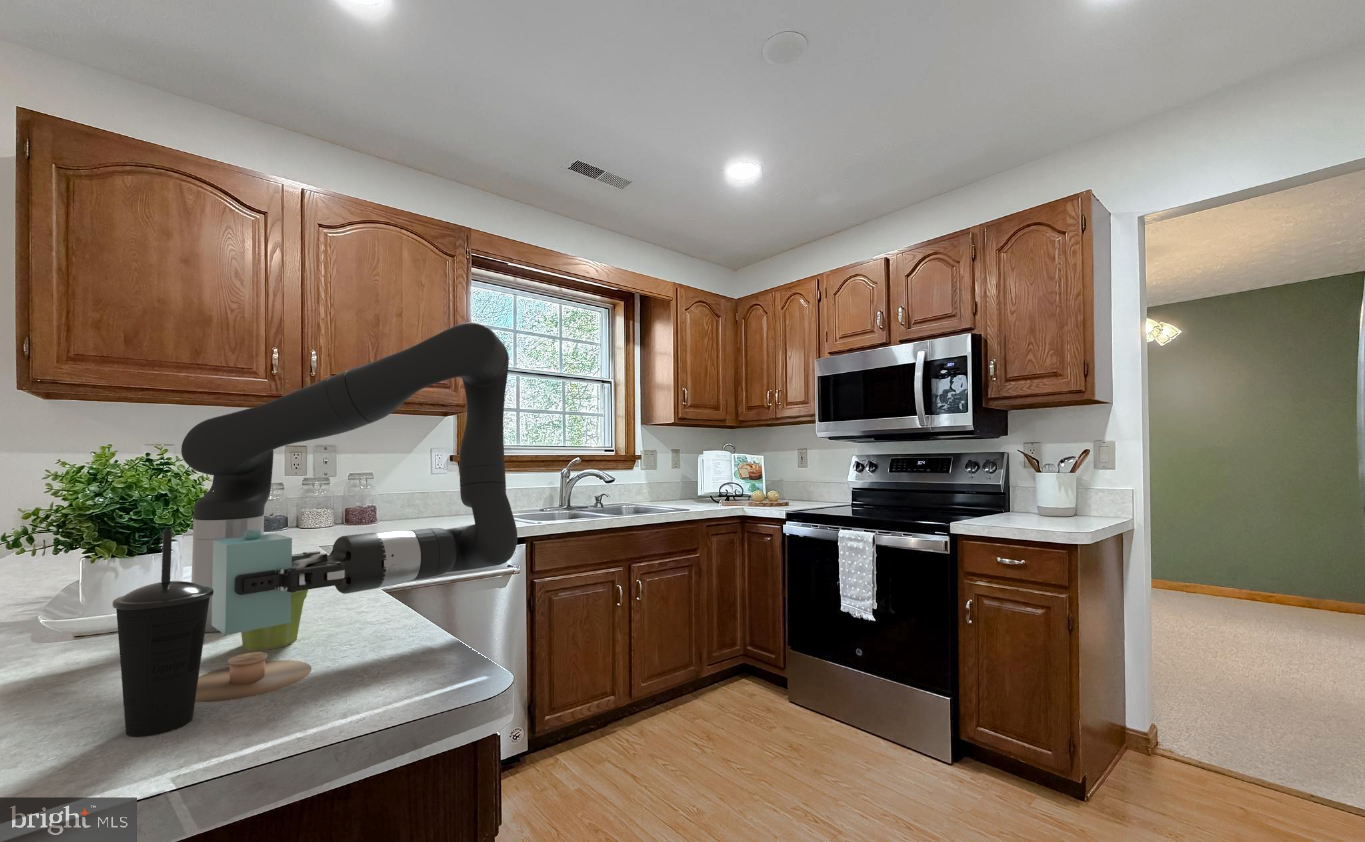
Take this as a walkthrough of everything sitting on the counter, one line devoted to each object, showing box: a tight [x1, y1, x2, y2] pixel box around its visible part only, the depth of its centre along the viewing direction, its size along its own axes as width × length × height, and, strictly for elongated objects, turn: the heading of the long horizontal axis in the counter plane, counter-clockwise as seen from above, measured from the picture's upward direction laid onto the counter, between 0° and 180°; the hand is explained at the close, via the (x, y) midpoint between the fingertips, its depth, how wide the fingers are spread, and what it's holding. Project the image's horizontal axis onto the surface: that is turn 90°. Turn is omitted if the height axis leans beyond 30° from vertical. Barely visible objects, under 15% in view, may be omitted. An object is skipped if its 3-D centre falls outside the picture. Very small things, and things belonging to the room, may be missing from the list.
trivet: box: [195, 659, 312, 703], centre depth 72 cm, size 13×13×1 cm
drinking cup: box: [111, 529, 214, 738], centre depth 60 cm, size 8×8×20 cm
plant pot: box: [240, 590, 309, 651], centre depth 86 cm, size 9×9×9 cm
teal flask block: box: [212, 530, 293, 636], centre depth 73 cm, size 6×6×11 cm
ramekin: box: [227, 651, 268, 684], centre depth 72 cm, size 4×4×2 cm
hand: (228, 581), depth 71 cm, fingers closed on teal flask block, 6 cm apart
